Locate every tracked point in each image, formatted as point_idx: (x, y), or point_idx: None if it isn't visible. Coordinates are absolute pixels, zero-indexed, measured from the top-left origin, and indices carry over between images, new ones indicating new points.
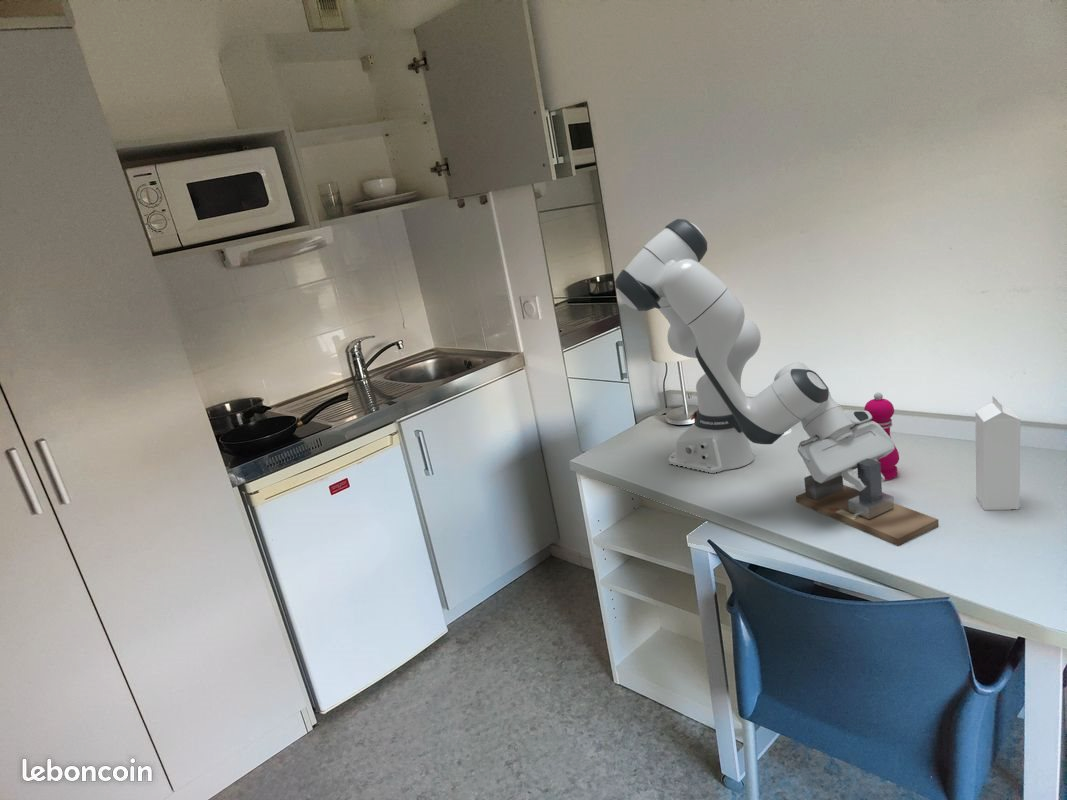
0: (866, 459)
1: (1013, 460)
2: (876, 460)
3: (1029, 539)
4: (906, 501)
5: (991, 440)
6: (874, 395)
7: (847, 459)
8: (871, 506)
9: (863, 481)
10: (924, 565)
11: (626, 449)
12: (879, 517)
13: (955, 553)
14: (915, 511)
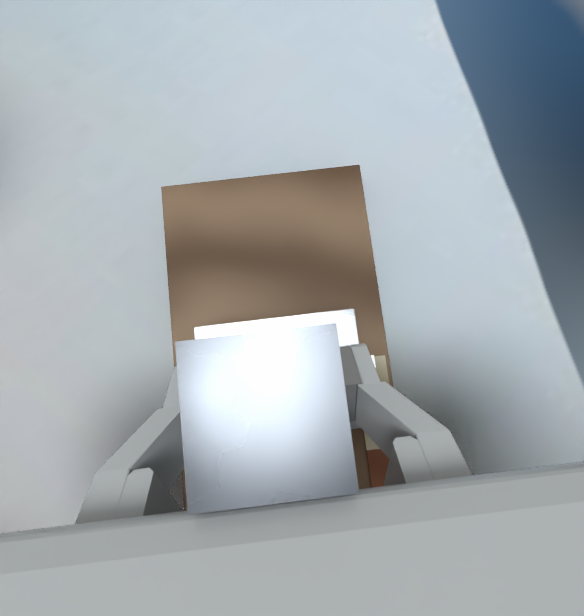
0: (222, 497)
1: None
2: (93, 501)
3: (59, 20)
4: (103, 390)
5: None
6: None
7: (472, 590)
8: (334, 311)
9: (344, 371)
10: (373, 68)
11: None
12: (299, 311)
13: (262, 68)
14: (171, 270)
